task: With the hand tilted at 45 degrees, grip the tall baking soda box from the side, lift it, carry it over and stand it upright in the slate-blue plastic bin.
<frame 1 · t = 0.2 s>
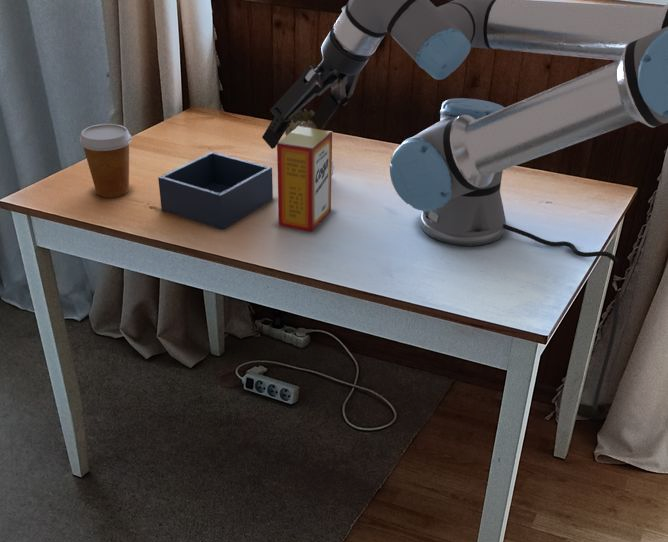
hand: (293, 133, 151), 16 cm above the table, tool tilted 35°, fingers open, 13 cm apart
cup: (300, 150, 187), on the table
disposable coffee cup: (112, 191, 167), on the table
baking soda box: (305, 219, 158), on the table
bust: (305, 180, 173), on the table
bin: (218, 204, 162), on the table
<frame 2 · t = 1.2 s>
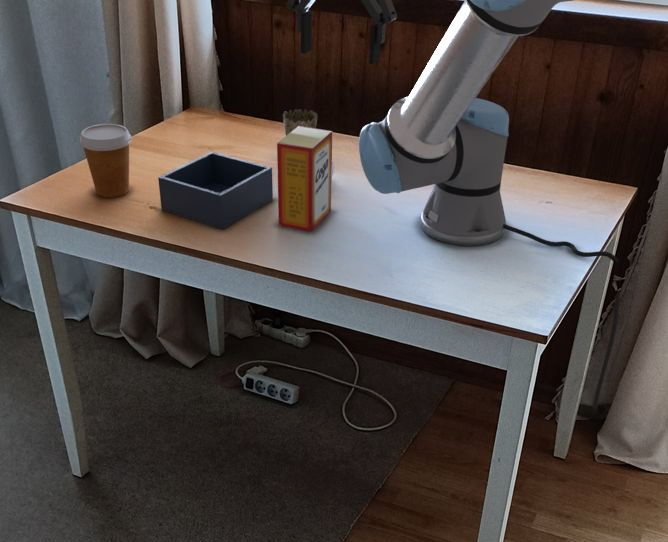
hand: (339, 57, 153), 26 cm above the table, tool pointing down, fingers open, 13 cm apart
nothing on the table moved.
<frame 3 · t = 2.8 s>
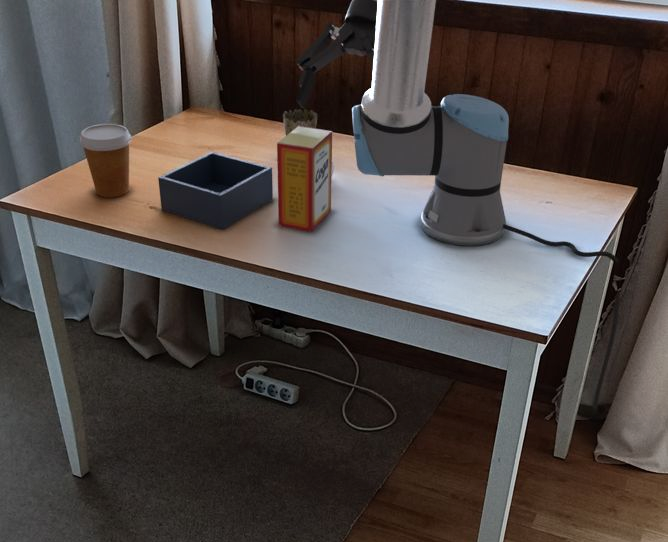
hand: (332, 110, 156), 17 cm above the table, tool tilted 45°, fingers open, 13 cm apart
nothing on the table moved.
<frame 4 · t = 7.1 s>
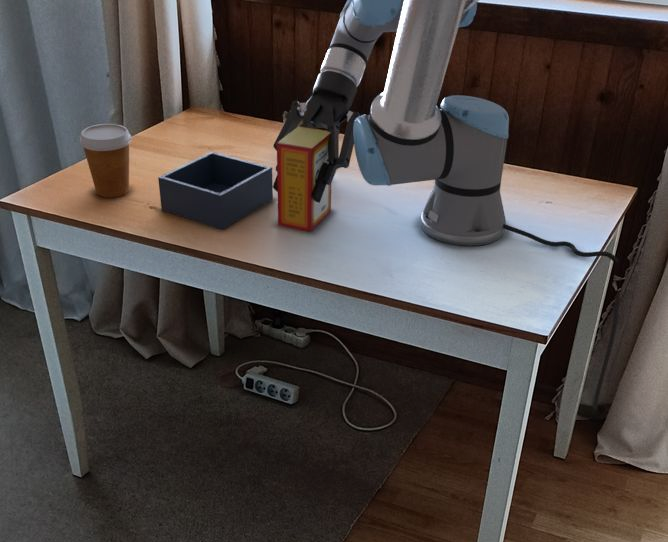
hand: (296, 194, 152), 6 cm above the table, tool tilted 45°, fingers closed on baking soda box, 7 cm apart
baking soda box: (304, 219, 158), on the table, touching gripper
everything else where it was.
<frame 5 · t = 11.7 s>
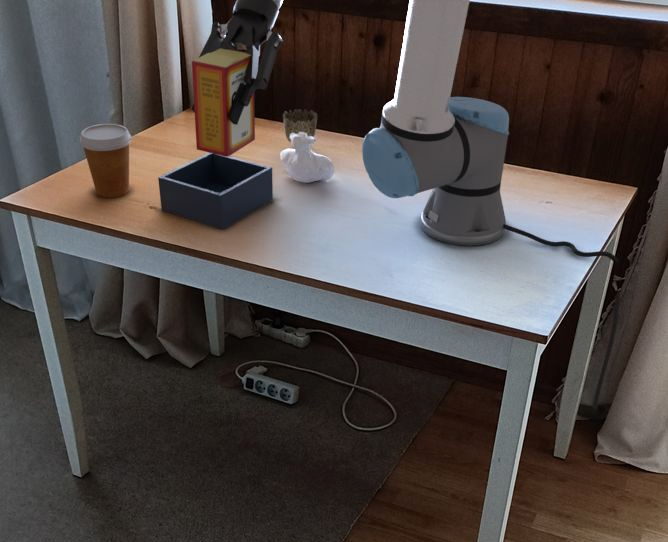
hand: (214, 116, 149), 18 cm above the table, tool tilted 45°, fingers closed on baking soda box, 7 cm apart
baking soda box: (226, 145, 155), point 12 cm above the table, touching gripper
everything else where it was.
when the fingers open (7 cm above the table, at t = 15.4 s): baking soda box stays where it is, resting on bin.
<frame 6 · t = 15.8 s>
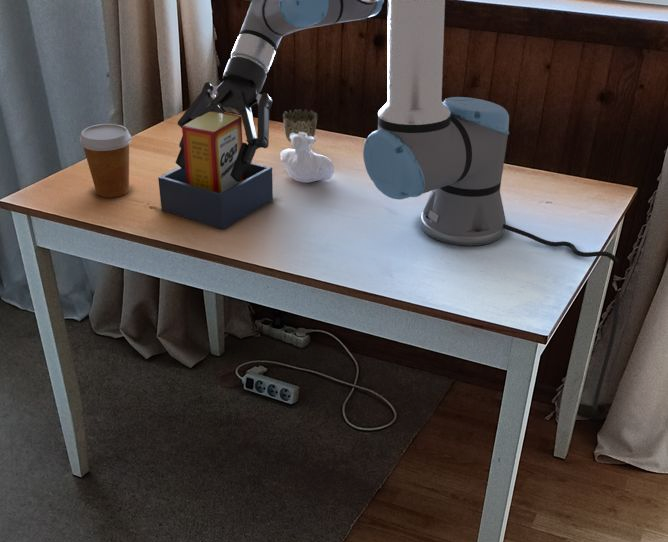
hand: (207, 172, 156), 8 cm above the table, tool tilted 45°, fingers open, 11 cm apart
baking soda box: (217, 202, 162), resting on bin
everything else where it was.
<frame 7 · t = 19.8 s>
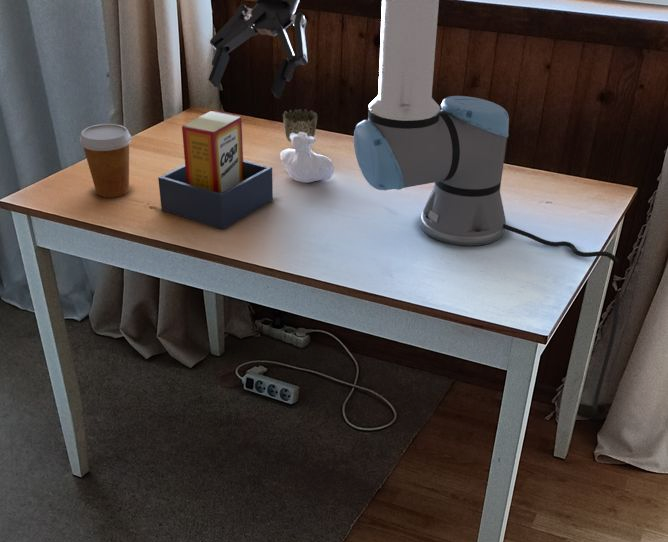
hand: (243, 89, 159), 19 cm above the table, tool tilted 45°, fingers open, 13 cm apart
nothing on the table moved.
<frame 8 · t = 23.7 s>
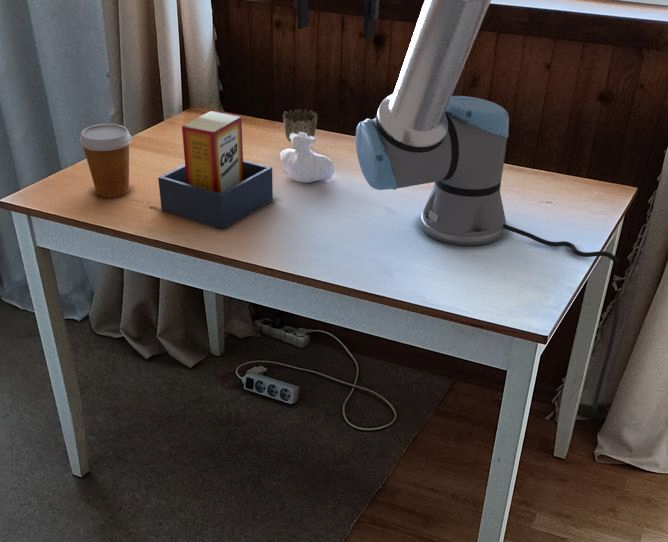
hand: (335, 32, 158), 29 cm above the table, tool pointing down, fingers open, 13 cm apart
nothing on the table moved.
at the end: baking soda box inside the target area in the bin (0.3 cm from its centre), point 0.4 cm above the bin's base; baking soda box tilted 0°; the gripper is holding nothing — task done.
